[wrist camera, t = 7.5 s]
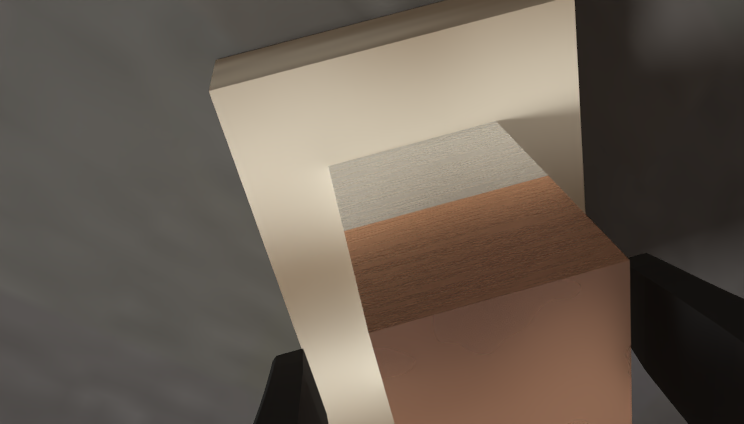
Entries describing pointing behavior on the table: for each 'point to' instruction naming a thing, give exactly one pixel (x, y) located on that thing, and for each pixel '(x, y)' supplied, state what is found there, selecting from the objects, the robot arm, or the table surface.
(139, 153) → the table surface
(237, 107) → the stand
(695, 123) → the table surface
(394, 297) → the block
